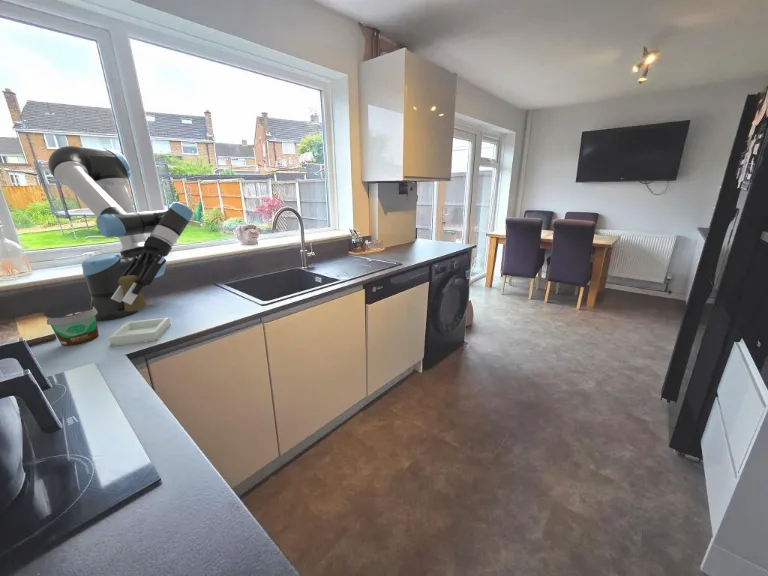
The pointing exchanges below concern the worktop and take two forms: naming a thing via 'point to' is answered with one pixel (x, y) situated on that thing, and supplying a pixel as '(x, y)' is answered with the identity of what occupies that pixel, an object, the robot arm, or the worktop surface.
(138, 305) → the pepper mill
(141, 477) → the worktop surface
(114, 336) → the tray
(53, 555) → the worktop surface
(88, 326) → the food container
